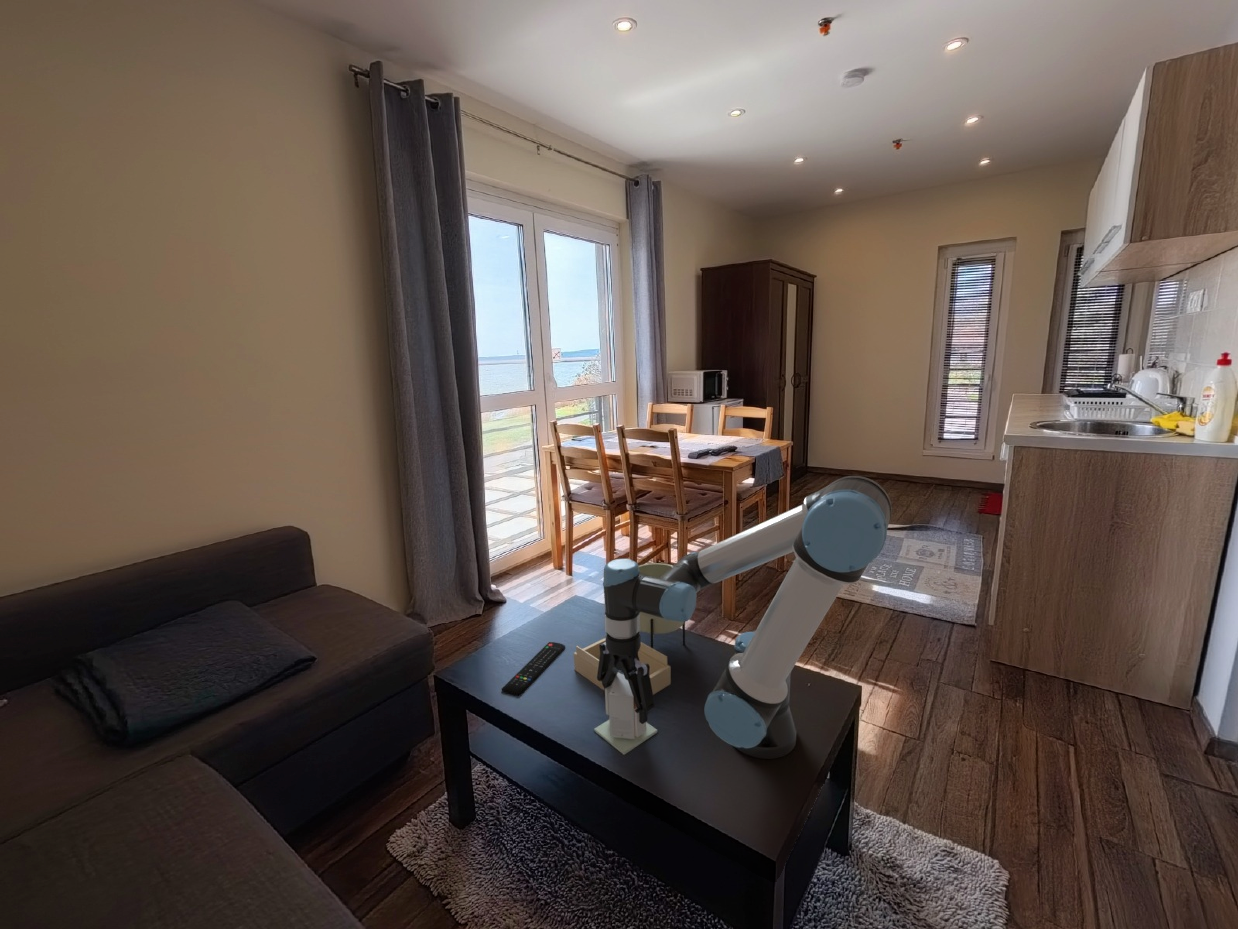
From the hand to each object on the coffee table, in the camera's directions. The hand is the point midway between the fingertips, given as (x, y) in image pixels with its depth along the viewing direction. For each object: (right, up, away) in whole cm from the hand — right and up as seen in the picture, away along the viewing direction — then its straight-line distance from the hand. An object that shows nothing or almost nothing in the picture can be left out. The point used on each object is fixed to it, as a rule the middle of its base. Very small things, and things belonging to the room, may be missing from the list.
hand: (625, 722), depth 122 cm
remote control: (-24, +2, +26) cm, 35 cm away
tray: (-1, +2, +21) cm, 21 cm away
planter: (+9, +5, +33) cm, 35 cm away
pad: (0, -2, +1) cm, 2 cm away
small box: (0, -1, 0) cm, 1 cm away
